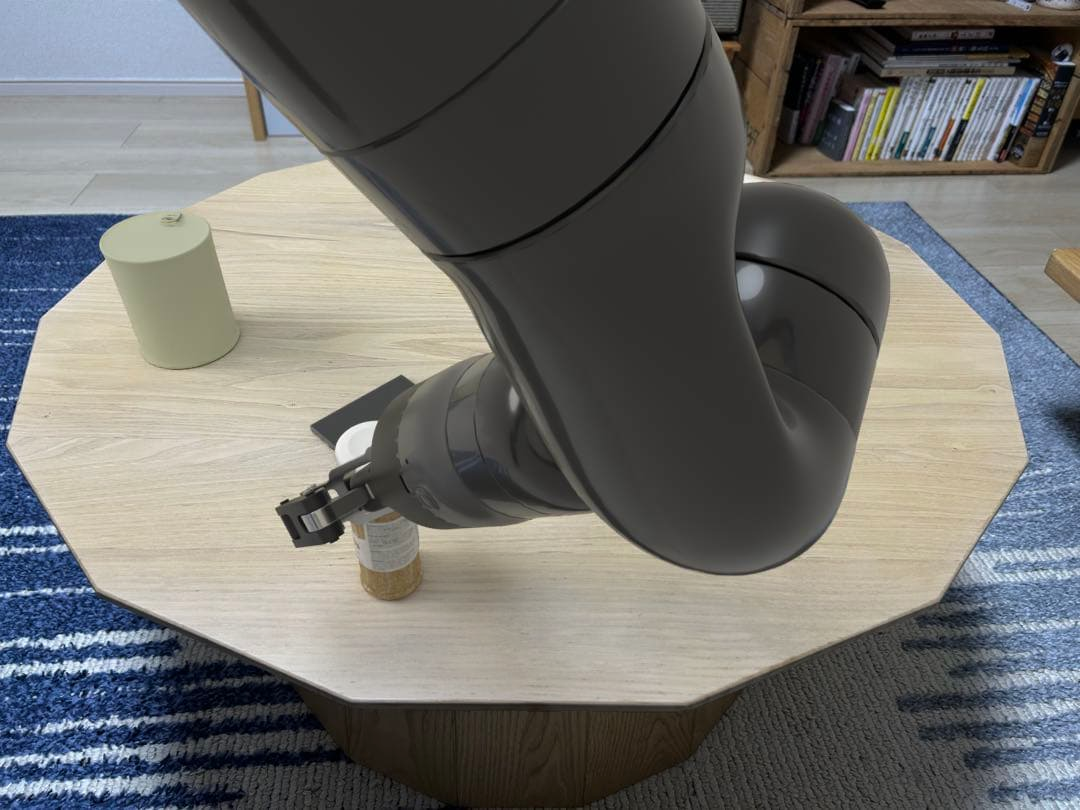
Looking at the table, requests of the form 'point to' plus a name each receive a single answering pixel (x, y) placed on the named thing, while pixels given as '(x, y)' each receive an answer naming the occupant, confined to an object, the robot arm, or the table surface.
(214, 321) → the can
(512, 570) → the table surface
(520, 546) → the table surface
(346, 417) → the slate coaster
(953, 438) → the table surface
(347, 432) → the sprinkles bottle
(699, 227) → the robot arm
